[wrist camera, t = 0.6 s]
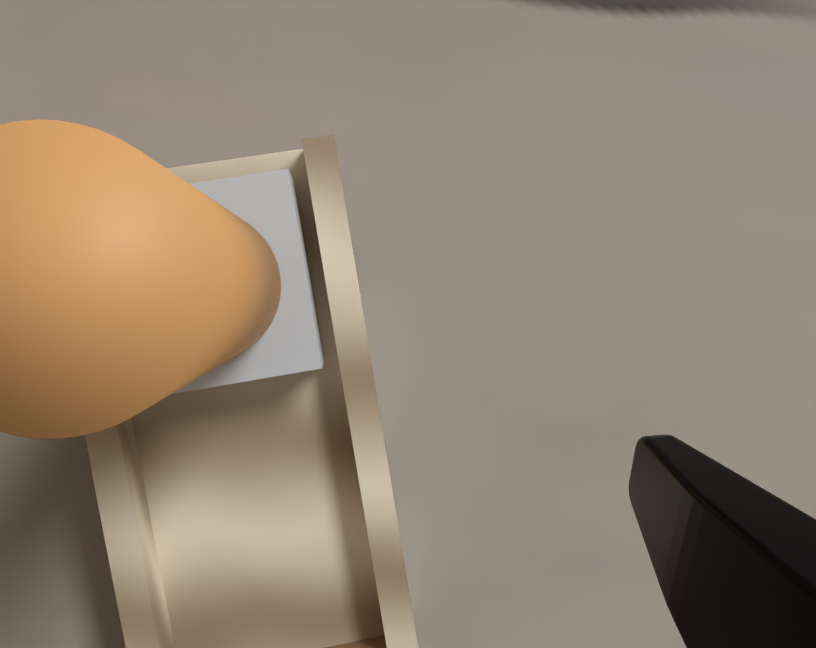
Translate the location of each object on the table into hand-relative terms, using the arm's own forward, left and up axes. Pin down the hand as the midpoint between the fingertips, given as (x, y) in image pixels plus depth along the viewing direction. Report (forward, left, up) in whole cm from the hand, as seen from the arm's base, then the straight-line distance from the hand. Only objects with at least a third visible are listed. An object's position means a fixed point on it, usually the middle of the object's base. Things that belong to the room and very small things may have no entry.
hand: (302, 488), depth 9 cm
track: (-4, 0, -15) cm, 16 cm away
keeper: (0, +5, -14) cm, 14 cm away
